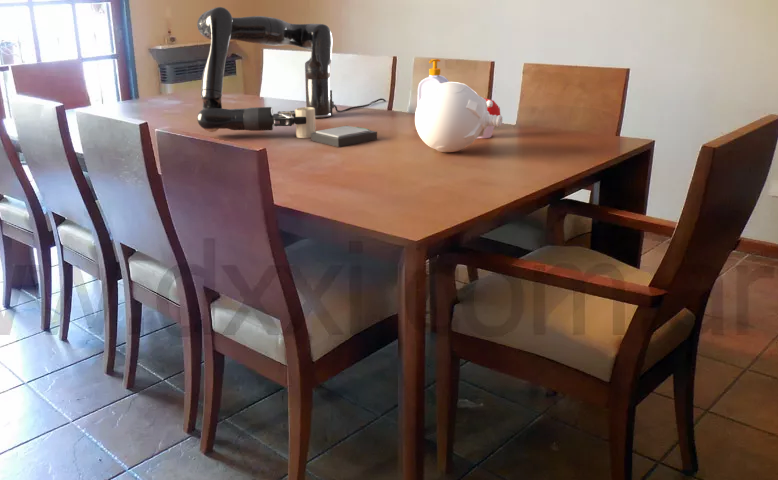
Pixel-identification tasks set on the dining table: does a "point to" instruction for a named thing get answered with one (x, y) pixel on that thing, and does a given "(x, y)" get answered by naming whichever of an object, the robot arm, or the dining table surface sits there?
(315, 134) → the scale
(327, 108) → the robot arm
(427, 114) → the white rounded shape
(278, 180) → the dining table surface
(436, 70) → the soap bottle
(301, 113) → the tumbler
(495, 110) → the mushroom
